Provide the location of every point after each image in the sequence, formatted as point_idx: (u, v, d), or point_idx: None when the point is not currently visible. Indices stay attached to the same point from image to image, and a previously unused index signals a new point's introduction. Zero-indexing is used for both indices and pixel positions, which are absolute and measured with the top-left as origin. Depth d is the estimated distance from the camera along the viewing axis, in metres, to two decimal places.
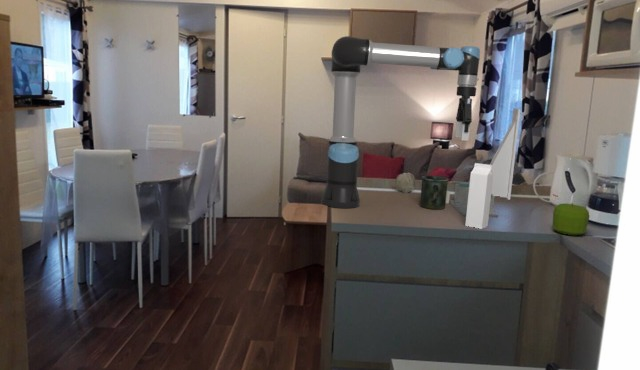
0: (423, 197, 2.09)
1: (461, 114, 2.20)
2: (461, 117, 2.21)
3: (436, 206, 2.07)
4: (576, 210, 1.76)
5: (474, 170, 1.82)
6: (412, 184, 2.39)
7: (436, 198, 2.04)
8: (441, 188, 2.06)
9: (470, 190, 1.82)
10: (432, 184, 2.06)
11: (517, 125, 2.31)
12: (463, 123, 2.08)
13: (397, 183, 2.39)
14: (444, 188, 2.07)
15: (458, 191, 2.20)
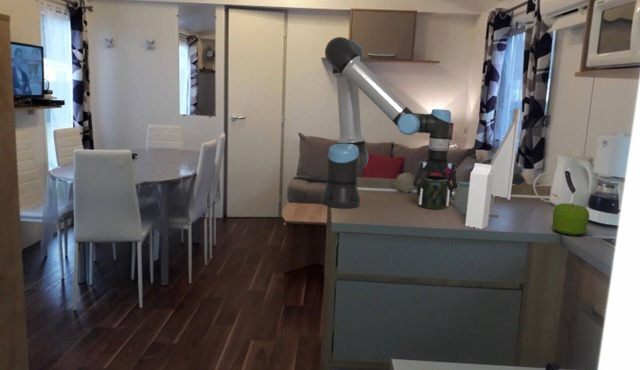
0: (423, 196, 2.09)
1: None
2: (447, 183, 2.09)
3: (436, 206, 2.07)
4: (576, 210, 1.76)
5: (474, 170, 1.82)
6: (412, 184, 2.39)
7: (436, 198, 2.04)
8: (440, 187, 2.06)
9: (470, 190, 1.82)
10: (431, 184, 2.06)
11: (517, 125, 2.31)
12: None
13: (397, 183, 2.39)
14: (444, 188, 2.07)
15: (458, 191, 2.20)
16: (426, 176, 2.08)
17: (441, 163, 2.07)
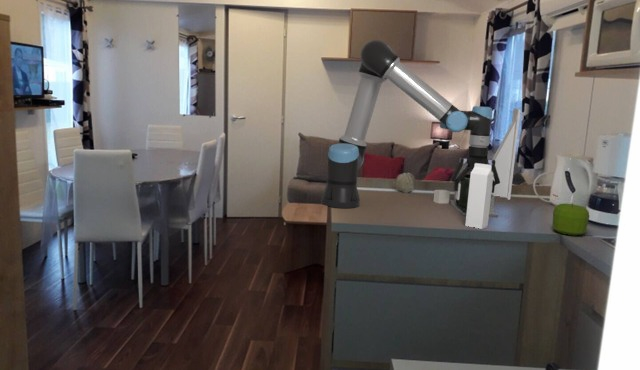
0: (462, 195, 2.10)
1: None
2: None
3: None
4: (576, 210, 1.76)
5: (474, 170, 1.82)
6: (412, 184, 2.39)
7: None
8: None
9: (470, 190, 1.82)
10: None
11: (517, 125, 2.31)
12: None
13: (397, 183, 2.39)
14: None
15: None
16: (465, 172, 2.08)
17: (481, 160, 2.07)
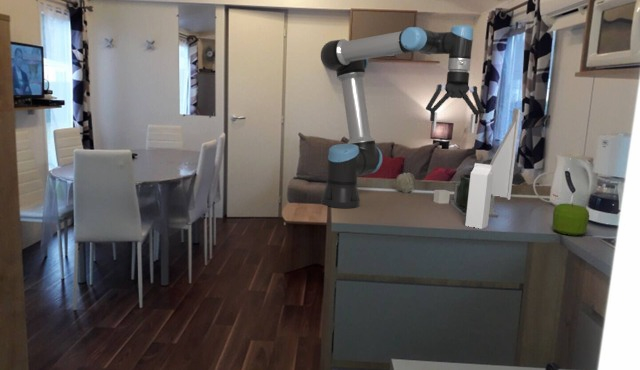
0: (462, 195, 2.10)
1: (468, 105, 1.88)
2: (471, 109, 1.88)
3: None
4: (576, 210, 1.76)
5: (474, 170, 1.82)
6: (412, 184, 2.39)
7: None
8: None
9: (470, 190, 1.82)
10: None
11: (517, 125, 2.31)
12: None
13: (397, 183, 2.39)
14: None
15: (458, 191, 2.20)
16: (443, 100, 1.86)
17: (461, 87, 1.86)
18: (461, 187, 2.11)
